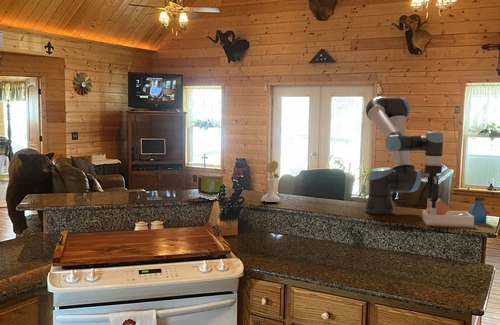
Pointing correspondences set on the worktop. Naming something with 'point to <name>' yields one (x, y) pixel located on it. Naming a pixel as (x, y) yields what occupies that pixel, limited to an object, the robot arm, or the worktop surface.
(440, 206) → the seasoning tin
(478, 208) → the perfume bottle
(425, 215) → the tray
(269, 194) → the flower in vase
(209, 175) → the tea box
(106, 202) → the worktop surface
